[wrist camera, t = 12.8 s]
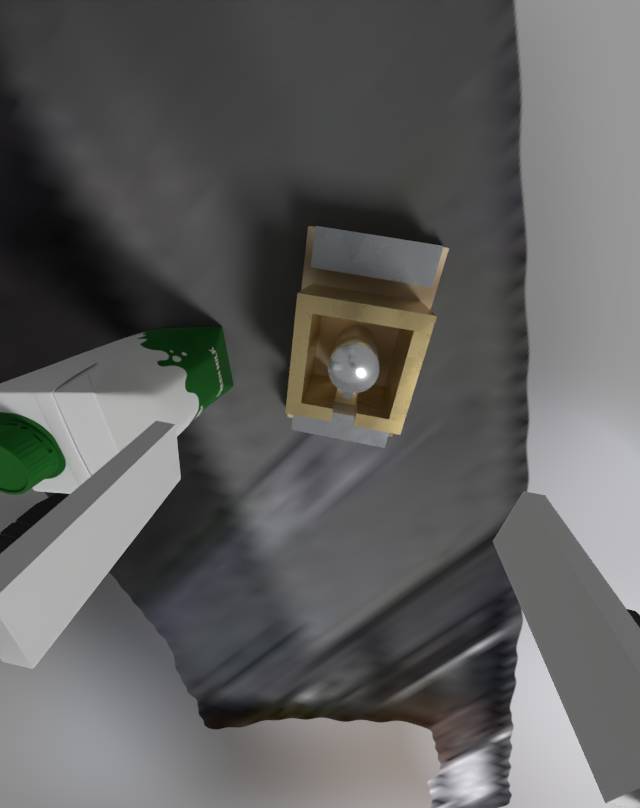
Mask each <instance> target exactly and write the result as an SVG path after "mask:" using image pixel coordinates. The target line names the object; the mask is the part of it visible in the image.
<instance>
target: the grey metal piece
mask: <svg viewBox="0 0 640 808" xmlns="http://www.w3.org/2000/svg"><path fill="white" fill-rule="evenodd" d="M443 247H444V246H440V245H434V244H428V243H422V242H415V241H409V240H403V239H396V238H390V237H384V236H377V235H371V234H365V233H359V232H352V231H346V230H340V229H333V228H327V227H321V226H315V234H314V242H313V251H312V259H311V267H313V268H319V269H325V270H331V271H337V272H343V273H349V274H355V275H361V276H367V277H373V278H379V279H385V280H391V281H397V282H403V283H409V284H415V285H421V286H427V287H432V285H433V281H434V278H435V274H436V271H437V268H438V264H439V261H440V257H441V254H442V251H443ZM328 373H329V377H330V379H331V381H332V383H333V384H334V385H335V386H336V387H337V388H339V389H340V390H342V391H343V398H348V399H352V396H353V393H360V392H363V391H365V390H367V389H369V388H370V387H371V386H372V385H373V384H374V383H375V382H376V380H377V378H378V375H379V361H378V352H377V344H376V338H375V336H374V334H373V333H372V332H371V331H370V330H369V329H368V328H366V327H364V326H361V325H351V326H348V327H346V328H345V329H343V330H342V331H341V332H340V333H339V335H338V337H337V339H336V342H335V345H334V349H333V352H332V355H331V358H330V361H329V365H328ZM354 414H355V405H351V404H345V403H340V402H335V403H334V408H333V413H332V418H331V422H330V421H324V420H319V419H314V418H309V417H303V416H298V415H293V420H292V429H291V430H296V431H301V432H306V433H311V434H316V435H321V436H326V437H332V438H337V439H342V440H347V441H352V442H357V443H362V444H368V445H373V446H378V447H383V448H385V445H386V441H387V438H388V435H389V433H388V432H383V431H378V430H372V429H367V428H362V427H356V426H354Z"/></svg>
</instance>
